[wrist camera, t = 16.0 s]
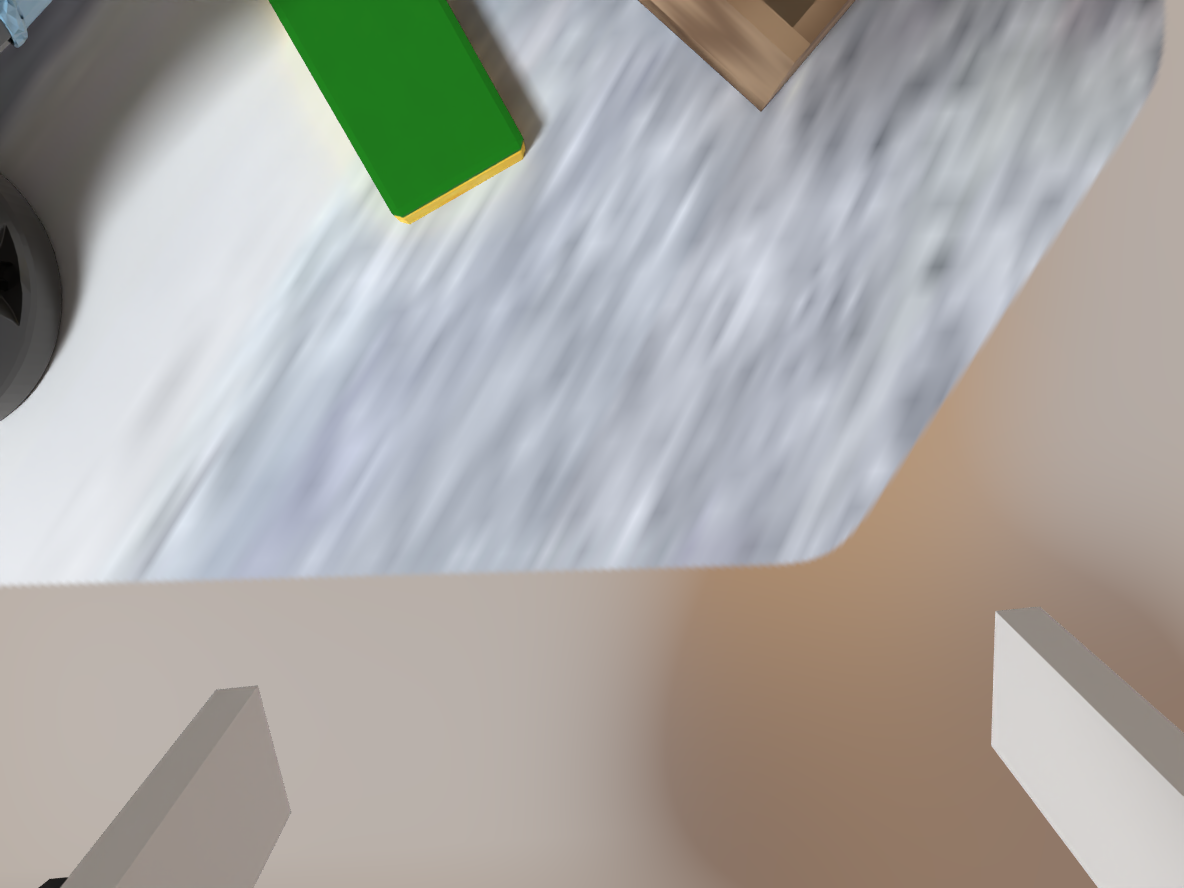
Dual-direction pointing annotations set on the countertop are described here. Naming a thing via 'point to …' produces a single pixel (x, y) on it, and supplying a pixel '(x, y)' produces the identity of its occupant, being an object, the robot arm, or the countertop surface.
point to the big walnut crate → (751, 37)
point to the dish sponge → (406, 96)
